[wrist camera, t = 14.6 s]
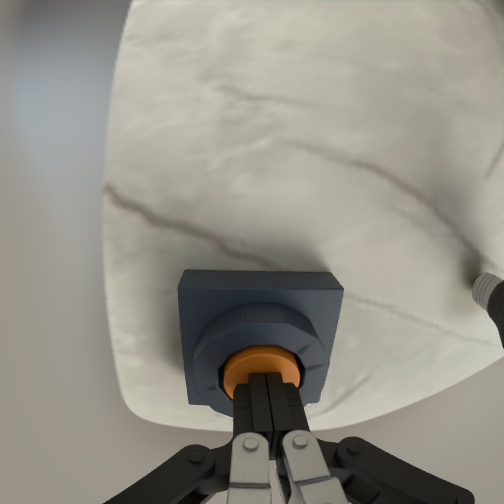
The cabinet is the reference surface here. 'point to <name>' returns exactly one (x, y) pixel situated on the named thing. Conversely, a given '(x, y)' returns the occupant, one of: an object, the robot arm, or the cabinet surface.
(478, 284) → the light bulb
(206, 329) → the dimmer box
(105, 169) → the cabinet surface
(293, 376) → the button
